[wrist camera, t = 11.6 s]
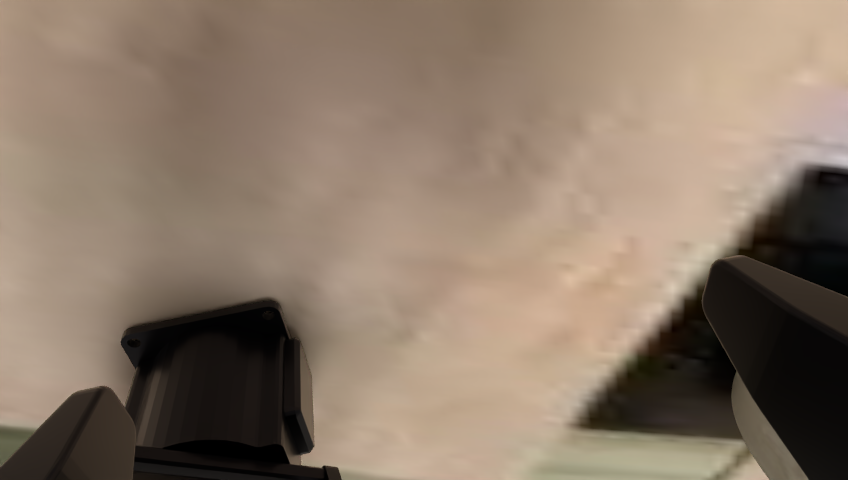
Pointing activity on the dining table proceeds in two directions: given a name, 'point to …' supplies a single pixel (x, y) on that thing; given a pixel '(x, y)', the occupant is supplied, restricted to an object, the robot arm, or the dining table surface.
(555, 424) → the dining table surface
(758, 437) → the glass bottle
